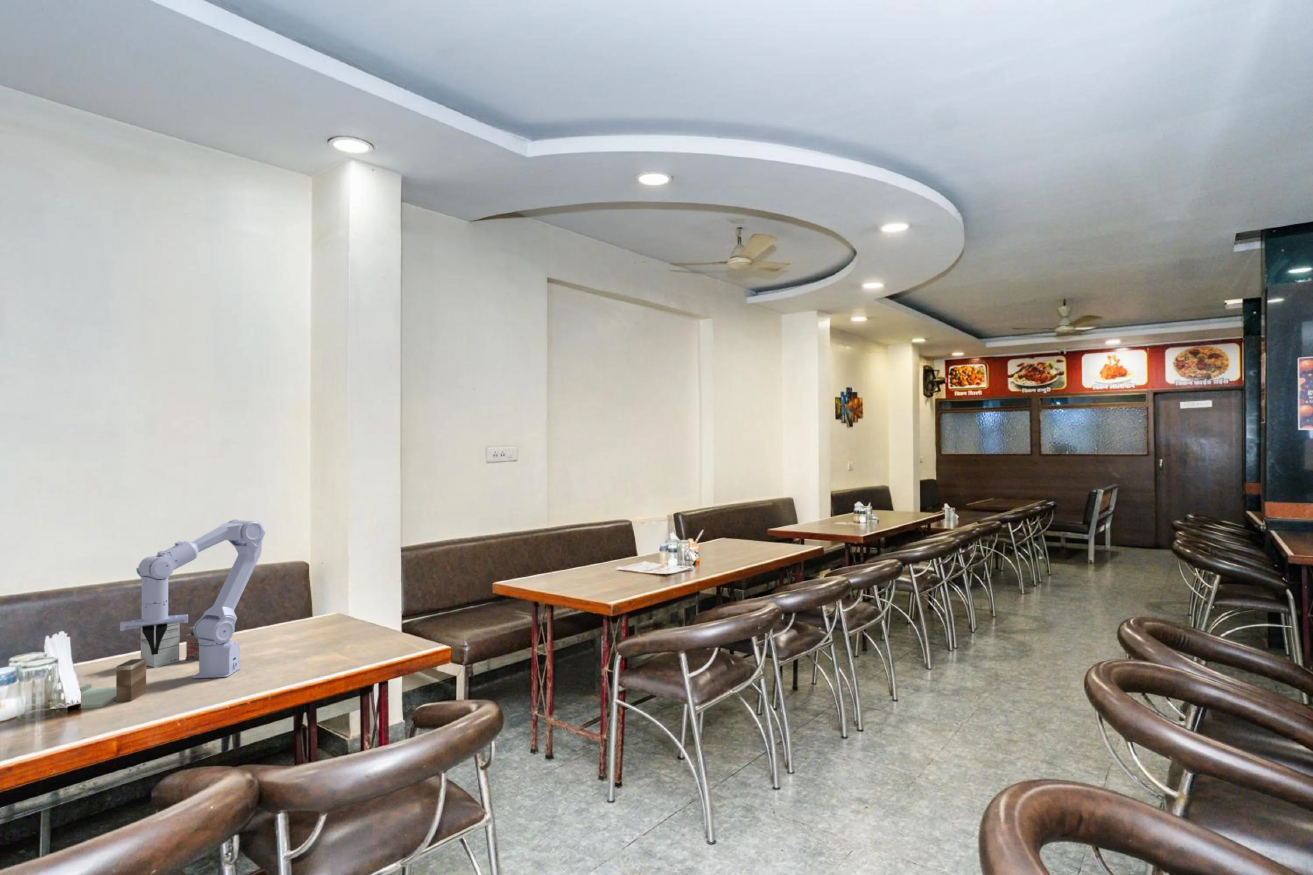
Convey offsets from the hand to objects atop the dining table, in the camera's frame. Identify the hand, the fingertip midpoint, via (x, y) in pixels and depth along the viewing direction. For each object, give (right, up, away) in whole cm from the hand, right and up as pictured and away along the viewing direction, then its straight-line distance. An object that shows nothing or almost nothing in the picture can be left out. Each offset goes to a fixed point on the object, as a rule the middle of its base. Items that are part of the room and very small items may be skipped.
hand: (154, 653), depth 182 cm
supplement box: (-16, -11, +25) cm, 32 cm away
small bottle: (-7, -11, +29) cm, 31 cm away
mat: (-12, -10, -5) cm, 16 cm away
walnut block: (-3, -10, -4) cm, 11 cm away
